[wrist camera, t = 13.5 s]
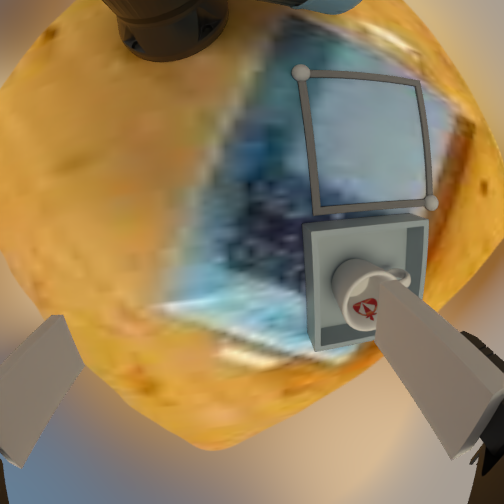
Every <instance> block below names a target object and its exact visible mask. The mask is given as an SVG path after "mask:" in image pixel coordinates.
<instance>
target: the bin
mask: <svg viewBox="0 0 504 504" xmlns="http://www.w3.org/2000/svg"><path fill="white" fill-rule="evenodd" d="M428 228H429V220H428V219H425V218H422V217H419V216H416V215H413V214H410V213H406V214H394V215H383V216H372V217H361V218H351V219H341V220H331V221H321V222H312V223H302V231H303V246H304V261H305V280H306V302H307V333H308V335H309V338H310V340H311V343H312V346H313V348H314V351H315V352H317V351H323V350H328V349H334V348H339V347H344V346H349V345H354V344H358V343H363V342H367V341H372V340H375V332H376V329H375V330H372V331H359V330H356V329H353V328H352V327H350V326H349V325H348V324H347V322H346V321H345V319H344V317H343V315H342V313H341V310H340V308H339V306H338V303H337V301H336V299H335V296H334V294H333V290H332V279H333V275H334V273H335V271H336V270H337V268H338V267H339V266H340V265H341V264H343V263H344V262H346V261H348V260H351V259H362V260H366V261H368V262H370V263H372V264H374V265H376V266H378V267H380V268H382V269H384V270H389V269H393V268H399V269H403V270H405V271H407V272H408V273H409V274H410V277H411V283H410V285H409V287H407V288H408V289H409V290H410V291H411V292H413V293H414V294H415V295H416V296H418V297H419V298H420V299H421V300H422V298H423V291H424V282H425V273H426V262H427V249H428ZM396 279H397V280H399V279H401V278H397V277H396Z"/></svg>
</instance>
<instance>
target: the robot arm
mask: <svg viewBox="0 0 504 504" xmlns="http://www.w3.org/2000/svg"><path fill="white" fill-rule="evenodd" d="M102 1H103V2H104V3H105V4H106V5H107V6H108V7H109V8H110V9H111V10H112V11H113V12H114V13H115V14H116V15H117V21H118V28H119V34H120V37H121V39H122V41H123V43H124V44H125V46H126V47H127V48H128V49H129V50H130V51H131V52H132V53H134V54H135V55H136V56H138V57H140V58H142V59H145V60H149V61H155V62H167V61H174V60H179V59H182V58H186V57H188V56H191V55H193V54H195V53H197V52H199V51H201V50H203V49H204V48H206V47H207V46H208V45H210V44H211V43H212V42H213V41H214V40H215V39H216V38H217V37H218V36H219V35H220V34H221V32H222V31H223V29H224V27H225V25H226V23H227V19H228V3H227V0H102ZM257 1H264V2H270V3H275V4H280V5H285V6H289V7H291V8H293V9H307V10H312V11H316V12H320V13H325V14H331V15H336V14H341V13H344V12H346V11H348V10H350V9H352V8H354V7H355V6H356V5H358V4H359V3H360V2H361V1H362V0H257ZM374 342H375V343H376V345H377V346H378V347H379V349H380V350H381V352H382V353H383V355H384V356H385V358H386V359H387V360H388V362H389V363H390V365H391V366H392V368H393V369H394V371H395V372H396V374H397V375H398V376H399V378H400V380H401V381H402V383H403V384H404V385H405V387H406V388H407V390H408V391H409V393H410V395H411V396H412V398H413V399H414V401H415V402H416V404H417V405H418V407H419V408H420V410H421V411H422V413H423V415H424V416H425V418H426V419H427V421H428V423H429V424H430V426H431V427H432V429H433V431H434V432H435V434H436V435H437V437H438V439H439V440H440V442H441V444H442V445H443V447H444V449H445V450H446V452H447V454H448V455H449V457H450V459H451V460H454V459H455V458H457V457H459V456H461V455H462V454H464V453H466V452H467V451H469V450H471V449H472V447H473V446H474V444H475V443H476V442H477V440H478V439H479V437H480V438H481V440H482V441H483V444H482V446H481V447H480V449H479V450H478V451H477V452H476V454H475V455H474V456H473V458H472V459H471V461H470V464H471V465H472V464H473V463H474V462H475V460H476V459H477V458H478V457H479V458H478V463H477V464H476V465H477V468H476V474H475V478H474V482H473V486H472V490H471V494H470V497H469V501H468V504H504V361H503V360H502V359H500V358H499V357H498V356H497V355H496V354H493V351H492V350H490V348H488V347H486V345H485V344H484V343H482V341H481V340H479V339H478V338H477V337H475V336H473V335H471V334H469V333H467V332H465V331H462V332H459V331H458V330H457V329H455V328H454V327H453V326H452V325H451V324H450V323H449V322H447V321H446V320H445V319H444V318H443V317H442V316H440V315H439V314H438V313H437V312H436V311H435V310H433V309H432V308H431V307H430V306H429V305H427V304H426V303H425V302H424V301H423V300H421V299H420V298H419V297H418V296H416V295H415V294H414V293H413V292H411V291H410V290H409V289H408V288H407V287H405V286H404V285H403V284H401V283H400V282H399V281H398V280H391V281H386V282H380V288H379V302H378V313H377V323H376V332H375V341H374ZM84 366H85V365H84V363H83V361H82V359H81V356H80V354H79V352H78V350H77V348H76V345H75V343H74V341H73V338H72V336H71V334H70V331H69V329H68V326H67V324H66V321H65V318H64V316H63V315H51V316H50V317H49V318H48V319H47V320H46V321H45V322H44V323H43V324H41V325H40V326H39V327H38V328H37V329H36V330H35V331H34V332H33V333H32V334H31V335H30V336H29V337H28V338H27V339H26V340H25V341H23V342H22V343H21V345H19V346H18V347H17V349H15V350H14V352H12V353H11V355H9V356H8V357H7V358H6V360H5V361H4V362H3V363H2V364H1V365H0V453H1V454H2V455H3V456H4V457H5V458H6V459H7V460H8V461H9V462H10V463H11V464H13V465H15V466H17V467H19V468H21V469H22V468H23V466H24V464H25V462H26V460H27V458H28V456H29V455H30V453H31V451H32V449H33V447H34V446H35V444H36V442H37V441H38V439H39V437H40V435H41V433H42V432H43V430H44V428H45V427H46V425H47V424H48V422H49V420H50V418H51V417H52V415H53V414H54V412H55V410H56V409H57V407H58V405H59V404H60V403H61V401H62V399H63V398H64V396H65V395H66V393H67V392H68V390H69V389H70V387H71V386H72V384H73V383H74V381H75V380H76V378H77V377H78V375H79V374H80V372H81V371H82V369H83V368H84ZM0 504H9V501H8V496H7V490H6V485H5V478H4V470H3V463H2V460H1V459H0Z"/></svg>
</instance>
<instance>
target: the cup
mask: <svg viewBox="0 0 504 504" xmlns="http://www.w3.org/2000/svg"><path fill="white" fill-rule="evenodd" d="M396 277H397V278H401V279H399V280H398V281H399V282H400V283H401V284H403V285H404V286H405V287H409V285H410V283H411V277H410V274H409V273H408V272H407V271H405V270H403V269H399V268H393V269H389V270H384V269H382V268H380V267H378V266H376V265H374V264H372V263H370V262H368V261H366V260H362V259H351V260H348V261H346V262H344V263H343V264H341V265H340V266H339V267H338V268H337V270H336V271H335V273H334V275H333V279H332V290H333V294H334V296H335V299H336V301H337V303H338V306H339V308H340V310H341V313H342V315H343V317H344V319H345V321H346V322H347V324H348V325H349V326H350V327H352V328H353V329H356V330H359V331H372V330H375V329H376V323H377V313H378V302H379V288H380V282H386V281H391V280H397V279H396Z"/></svg>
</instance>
